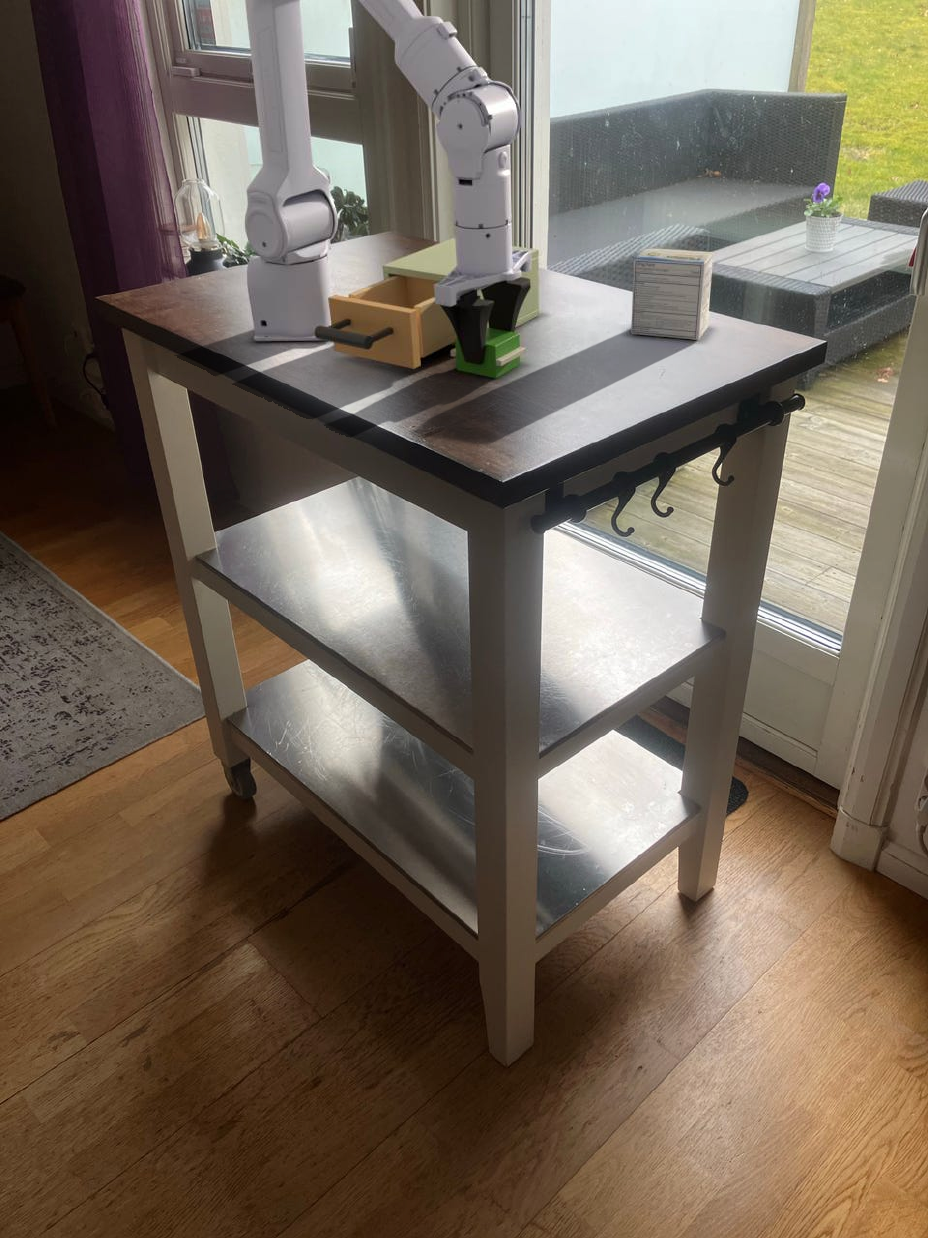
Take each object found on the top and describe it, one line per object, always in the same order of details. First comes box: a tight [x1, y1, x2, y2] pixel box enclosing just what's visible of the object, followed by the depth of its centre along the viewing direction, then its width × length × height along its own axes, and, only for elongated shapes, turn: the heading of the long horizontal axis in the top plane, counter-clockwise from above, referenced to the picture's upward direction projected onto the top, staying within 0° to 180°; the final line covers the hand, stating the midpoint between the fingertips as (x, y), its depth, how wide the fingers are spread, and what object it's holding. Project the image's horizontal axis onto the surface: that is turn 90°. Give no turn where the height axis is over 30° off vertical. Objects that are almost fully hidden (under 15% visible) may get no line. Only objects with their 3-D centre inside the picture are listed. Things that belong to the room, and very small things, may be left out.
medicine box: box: [630, 248, 714, 341], centre depth 113 cm, size 8×4×9 cm, turn 65°
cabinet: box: [382, 237, 540, 346], centre depth 119 cm, size 14×13×8 cm
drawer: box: [315, 275, 457, 370], centre depth 111 cm, size 17×11×6 cm, turn 144°
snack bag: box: [450, 327, 526, 379], centre depth 108 cm, size 7×5×4 cm
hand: (487, 354), depth 108 cm, fingers closed on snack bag, 4 cm apart
